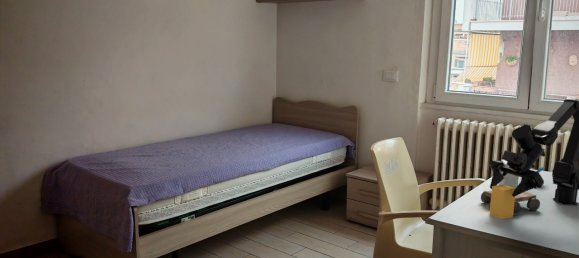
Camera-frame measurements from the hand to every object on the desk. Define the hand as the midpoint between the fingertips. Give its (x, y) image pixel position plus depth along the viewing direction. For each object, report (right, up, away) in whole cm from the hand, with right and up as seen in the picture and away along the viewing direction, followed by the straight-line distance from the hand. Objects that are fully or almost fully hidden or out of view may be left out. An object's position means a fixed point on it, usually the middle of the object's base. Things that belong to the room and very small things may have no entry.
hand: (501, 192), depth 169 cm
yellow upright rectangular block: (+1, -8, +2) cm, 9 cm away
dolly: (+8, -7, +11) cm, 15 cm away
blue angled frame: (+31, -2, +43) cm, 53 cm away
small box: (+18, -3, +37) cm, 41 cm away
